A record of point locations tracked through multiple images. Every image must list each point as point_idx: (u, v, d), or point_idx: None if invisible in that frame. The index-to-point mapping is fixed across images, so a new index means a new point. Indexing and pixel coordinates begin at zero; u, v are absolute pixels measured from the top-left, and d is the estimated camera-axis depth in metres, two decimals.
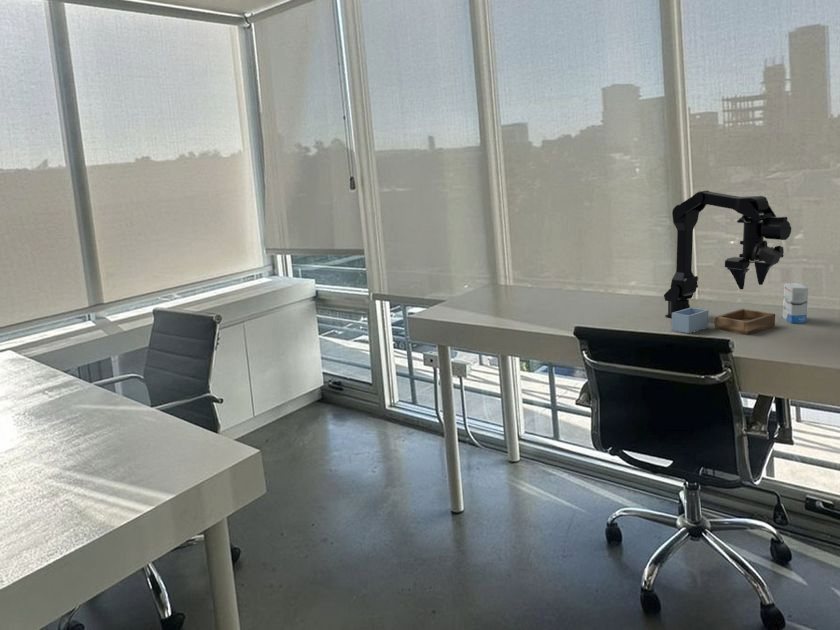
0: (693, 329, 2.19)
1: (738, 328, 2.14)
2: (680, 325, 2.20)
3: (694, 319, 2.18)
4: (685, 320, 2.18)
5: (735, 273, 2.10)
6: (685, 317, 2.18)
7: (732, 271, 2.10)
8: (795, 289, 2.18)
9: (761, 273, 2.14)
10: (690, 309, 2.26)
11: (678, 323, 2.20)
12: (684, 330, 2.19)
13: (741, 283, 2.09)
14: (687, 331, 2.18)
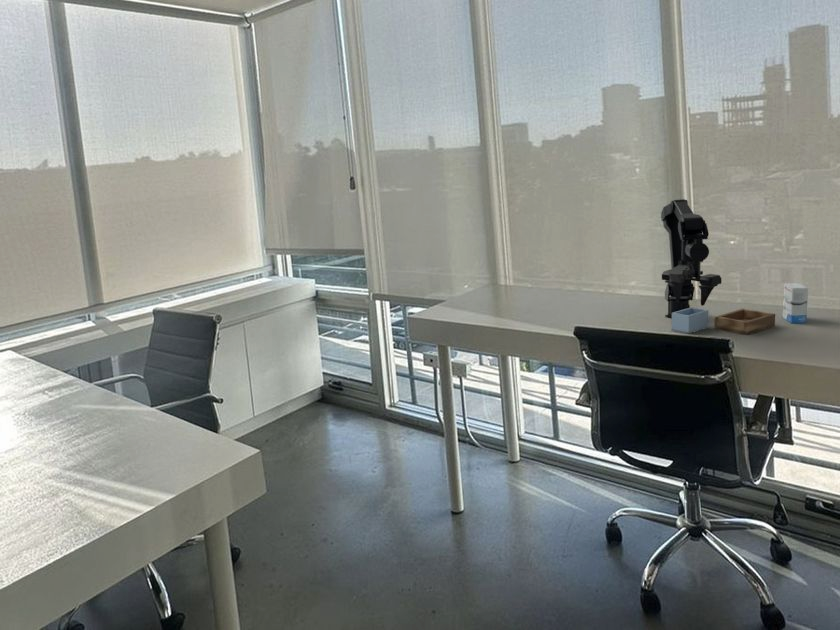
0: (693, 329, 2.19)
1: (738, 328, 2.14)
2: (680, 325, 2.20)
3: (694, 319, 2.18)
4: (685, 320, 2.18)
5: None
6: (685, 317, 2.18)
7: None
8: (795, 289, 2.18)
9: None
10: (690, 309, 2.26)
11: (678, 323, 2.20)
12: (684, 330, 2.19)
13: None
14: (687, 331, 2.18)
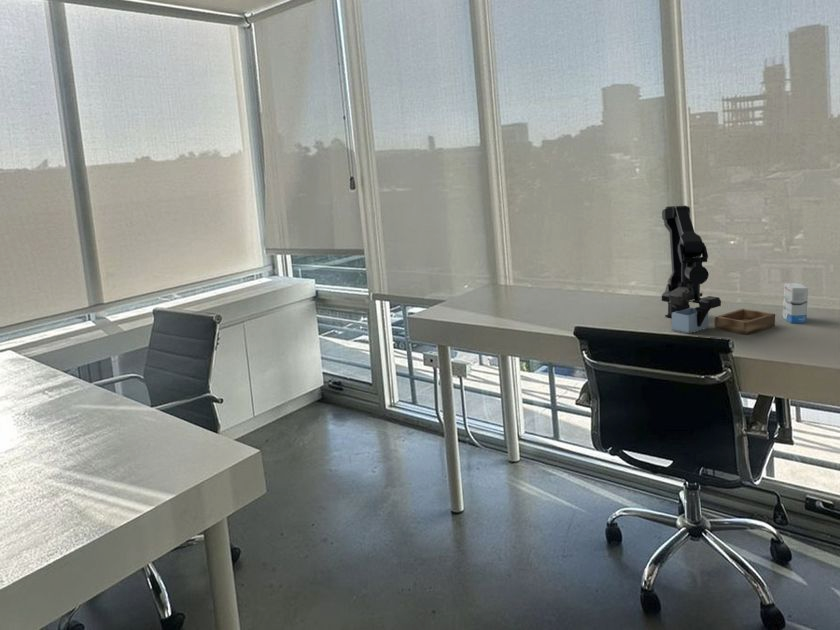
0: (693, 329, 2.19)
1: (738, 328, 2.14)
2: (680, 325, 2.20)
3: (694, 319, 2.18)
4: (685, 320, 2.18)
5: None
6: (685, 317, 2.18)
7: None
8: (795, 289, 2.18)
9: None
10: (690, 309, 2.26)
11: (678, 323, 2.20)
12: (684, 330, 2.19)
13: None
14: (687, 331, 2.18)
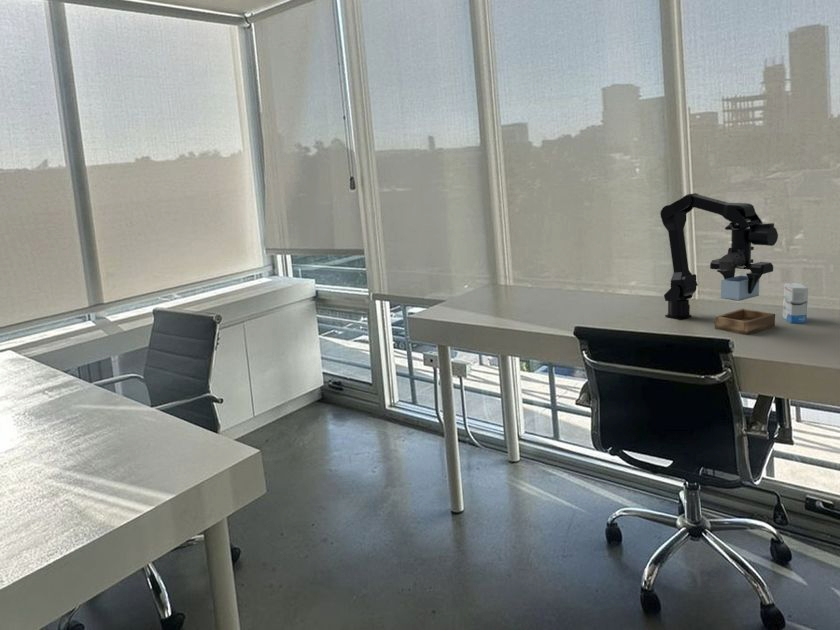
0: (744, 296, 2.13)
1: (738, 328, 2.14)
2: (730, 292, 2.15)
3: (745, 286, 2.13)
4: (735, 286, 2.13)
5: None
6: (735, 284, 2.12)
7: None
8: (795, 289, 2.18)
9: None
10: (740, 277, 2.20)
11: (728, 290, 2.15)
12: (734, 297, 2.14)
13: None
14: (737, 298, 2.13)
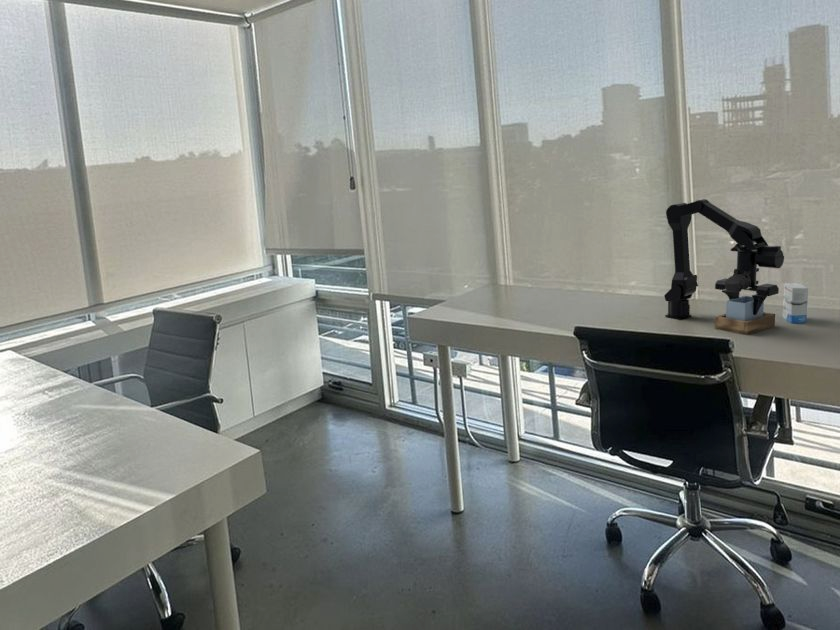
0: (749, 317, 2.15)
1: (738, 328, 2.14)
2: (735, 313, 2.16)
3: (750, 307, 2.15)
4: (741, 308, 2.14)
5: None
6: (741, 305, 2.14)
7: None
8: (795, 289, 2.18)
9: None
10: (744, 297, 2.22)
11: (733, 311, 2.17)
12: (740, 318, 2.15)
13: None
14: (743, 319, 2.14)
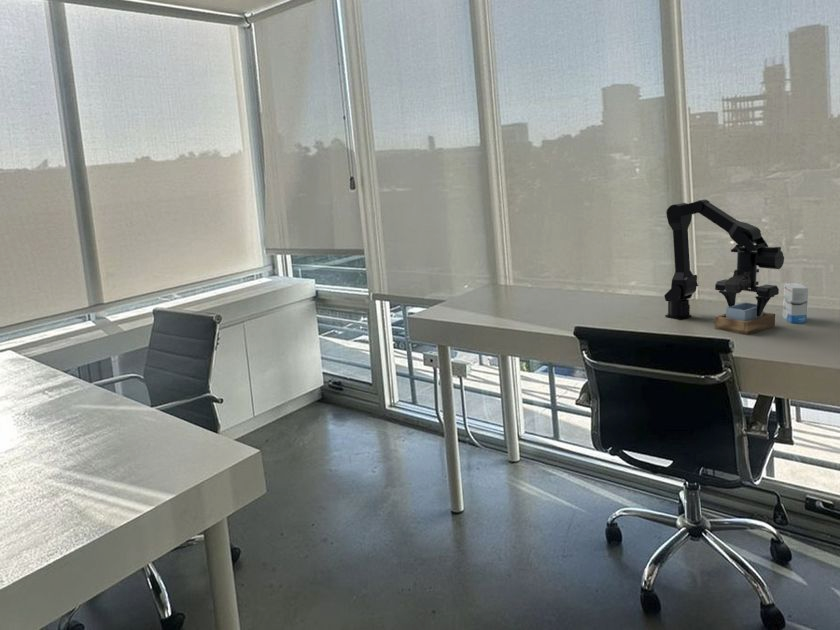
0: None
1: (738, 328, 2.14)
2: None
3: (750, 314, 2.15)
4: (741, 315, 2.15)
5: None
6: (740, 312, 2.15)
7: None
8: (795, 289, 2.18)
9: None
10: (744, 304, 2.23)
11: (733, 318, 2.17)
12: None
13: None
14: None
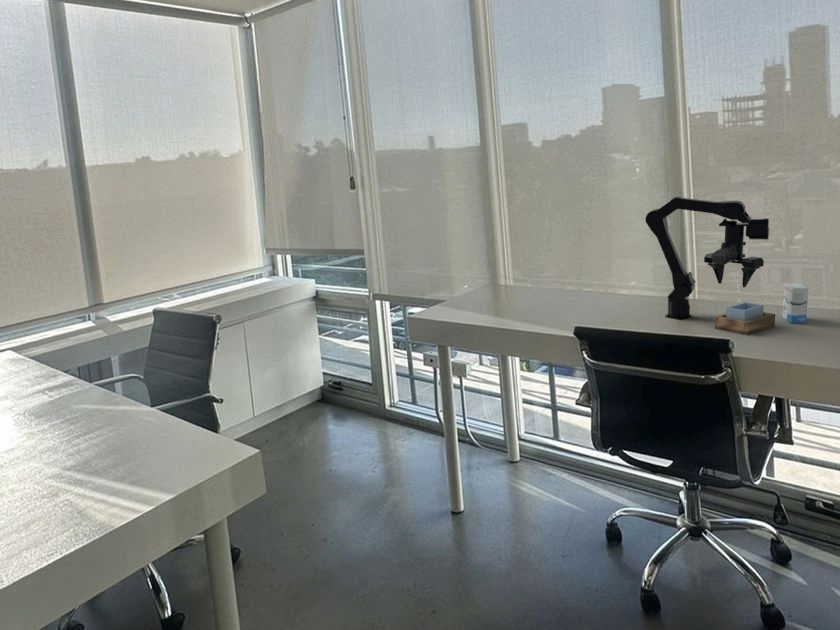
0: None
1: (738, 328, 2.14)
2: None
3: (750, 314, 2.15)
4: (741, 315, 2.15)
5: None
6: (740, 312, 2.15)
7: None
8: (795, 289, 2.18)
9: None
10: (744, 304, 2.23)
11: (733, 318, 2.17)
12: None
13: None
14: None
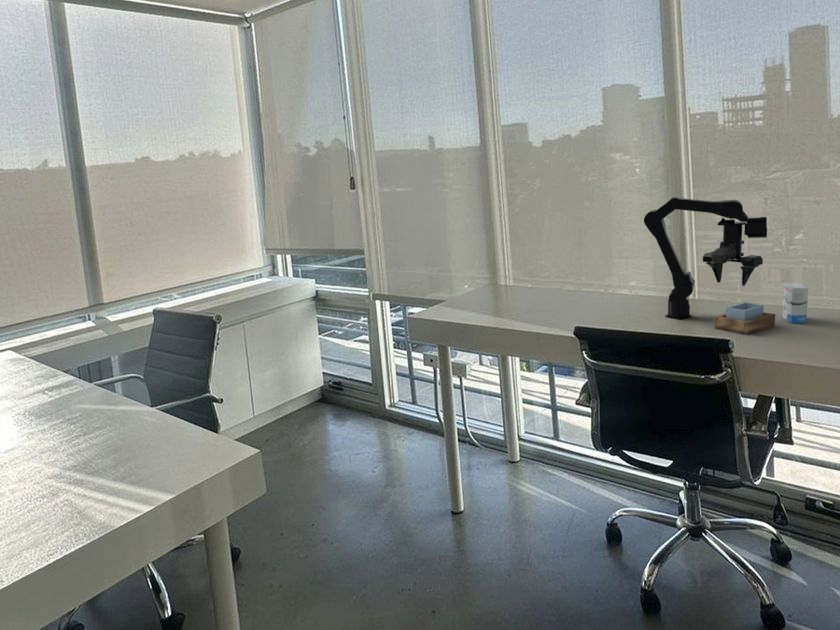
0: None
1: (738, 328, 2.14)
2: None
3: (750, 314, 2.15)
4: (741, 315, 2.15)
5: None
6: (740, 312, 2.15)
7: None
8: (795, 289, 2.18)
9: None
10: (744, 304, 2.23)
11: (733, 318, 2.17)
12: None
13: None
14: None
